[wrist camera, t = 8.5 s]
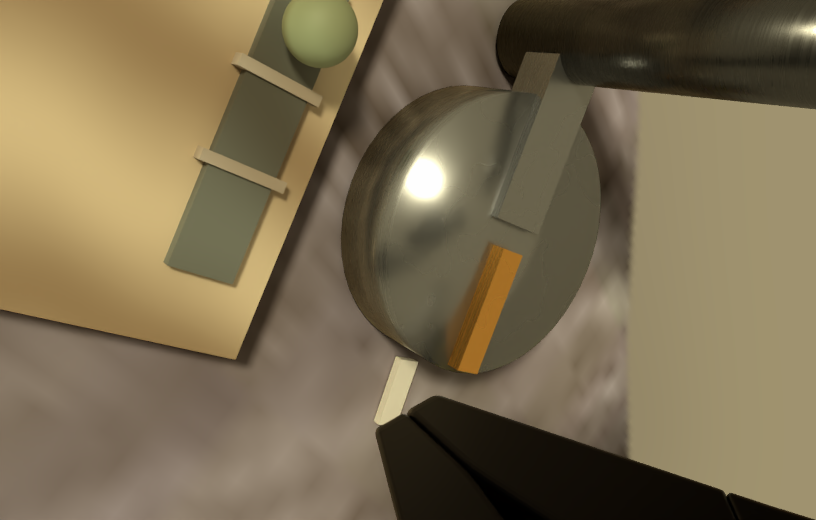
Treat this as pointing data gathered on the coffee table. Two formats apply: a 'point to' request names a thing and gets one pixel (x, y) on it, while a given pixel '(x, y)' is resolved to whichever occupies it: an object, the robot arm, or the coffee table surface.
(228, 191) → the stand
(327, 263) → the coffee table surface
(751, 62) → the grey piece
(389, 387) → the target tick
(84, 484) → the coffee table surface
